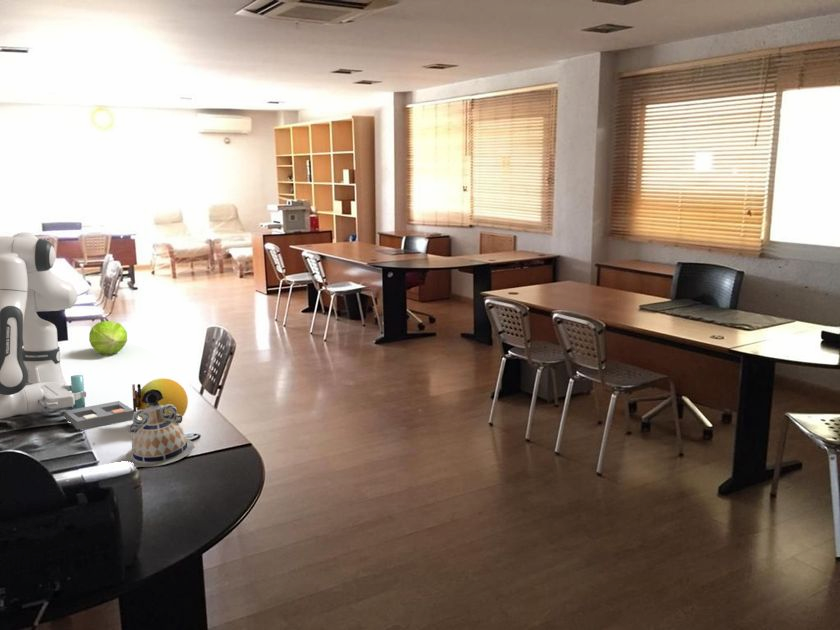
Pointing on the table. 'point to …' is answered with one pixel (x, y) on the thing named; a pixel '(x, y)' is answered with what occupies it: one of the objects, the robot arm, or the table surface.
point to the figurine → (157, 434)
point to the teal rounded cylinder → (78, 390)
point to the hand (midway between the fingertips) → (80, 390)
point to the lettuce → (108, 337)
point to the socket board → (99, 415)
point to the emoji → (170, 394)
